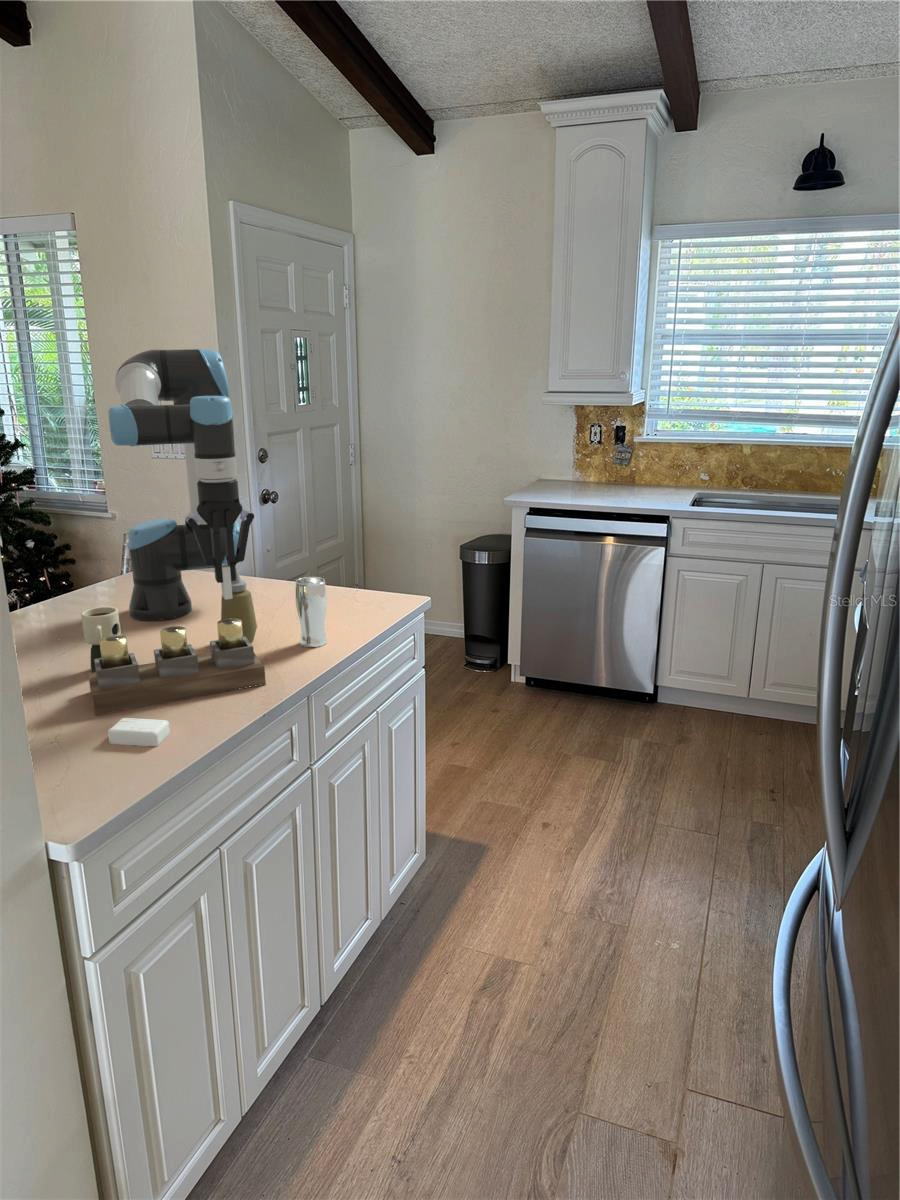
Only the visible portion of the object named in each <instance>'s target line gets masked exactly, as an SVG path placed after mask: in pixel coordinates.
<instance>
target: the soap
mask: <svg viewBox="0 0 900 1200" xmlns="http://www.w3.org/2000/svg"><path fill="white" fill-rule="evenodd" d="M170 733H171V729H170V723H169V721H168V720H166V719H165V720H164V719H153V718H152V719H151V718H134V717H132V718H131V717H122V718H121V719H120V720H118V721H117V722H116V723H115V724H114V725H113V726H112V727H111V728H109V729H108V731H107V734H108V742H109V744H110V745H119V746H120V745H121V746H122V745H123V746H133V745H137V746H136V747H148V746H154V747H153V748H156V747H155V746H157V747H158V746H159V745H160V744H162V743H163V741H165V739H166V738H168V737H169V735H170Z"/></svg>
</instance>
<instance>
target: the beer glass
mask: <svg viewBox="0 0 900 1200" xmlns="http://www.w3.org/2000/svg"><path fill="white" fill-rule="evenodd" d="M294 590H295V591H294V593H295V606H296V611H297V615H298V620H299V623H300V632H301V633H300V639H299V640H300V641H299V644H300V646H302V647H303V646H304V648H308V647H315V648H320V647H319V646H321V647H323V646H325V645H327V643H328V641H327V640H328V639H327V637H326V632H325V631H326V630H325V622H326V615H327V603H328V601H327V599H328V595H327V587H326V580H325V578H323V577H320V576H305V577H300V578H298V579H296V580H295V589H294Z"/></svg>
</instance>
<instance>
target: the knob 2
mask: <svg viewBox="0 0 900 1200" xmlns="http://www.w3.org/2000/svg"><path fill="white" fill-rule="evenodd" d="M216 626H217V636H218V640H219V647H220V648H221V649H226V650H227V649H234V648H240V647H242V646H243V645H244V643H243V631H242V621H241V620H240V619H236V618H229V619H223V620H221V619H220V620H218V621H217V624H216Z"/></svg>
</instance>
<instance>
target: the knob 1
mask: <svg viewBox="0 0 900 1200" xmlns="http://www.w3.org/2000/svg"><path fill="white" fill-rule="evenodd" d="M99 642H100V650H101V657H102V664H103V667H105V668H113V667H120V666H125V665H127V664H128V663H129V655H128V654H129V649H128V641H127V636H126V635H124V634H121V635H110V636H106V637H103V638H101V639H100V640H99Z"/></svg>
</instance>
